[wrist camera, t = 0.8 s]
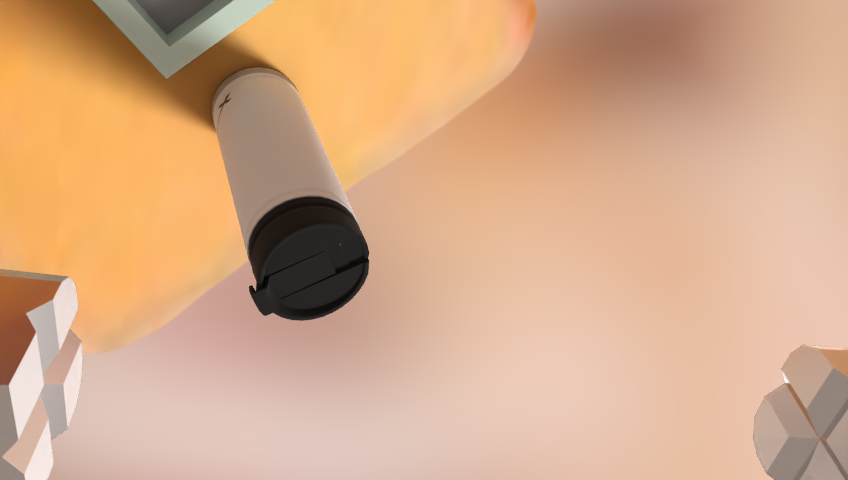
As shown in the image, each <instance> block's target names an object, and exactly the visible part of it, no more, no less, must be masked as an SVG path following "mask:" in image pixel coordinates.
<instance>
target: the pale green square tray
mask: <svg viewBox="0 0 848 480" xmlns="http://www.w3.org/2000/svg"><path fill="white" fill-rule="evenodd" d="M93 1H94V2H95V3H96V5H97V6H98V7H99V8H100V9H101V10H102V11H103V12H104V13H105V14H106V15H107V16H108V17H109V18H110V20H111V21H112V22H113V23H114V24H115V25H116V26H117V27H118V28H119V29H120V30H121V31H122V32H123V33H124V34H125V36H126V37H127V38H128V39H129V40H130V41H131V42H132V43H133V44H134V45H135V46H136V47H137V48H138V49H139V50H140V52H141V53H142V54H143V55H144V56H145V57H146V58H147V59H148V60H149V61H150V62H151V63H152V64H153V65H154V67H155V68H156V69H157V70H158V71H159V72H160V73H161V74H162V75H163V76H164V77H165V78H166V79H167V78H169V77H170V76H172V75H173V74H174V73H176V72H177V71H179V70H180V69H181V68H183V67H184V66H185V65H187V64H188V63H190V62H191V61H192V60H194V59H195V58H197V57H198V56H199V55H201V54H202V53H203V52H205V51H206V50H208V49H209V48H210V47H212V46H213V45H215V44H216V43H217V42H219V41H220V40H221V39H223V38H224V37H226V36H227V35H228V34H230V33H231V32H232V31H234V30H235V29H237V28H238V27H239V26H241V25H242V24H244V23H245V22H246V21H248V20H249V19H250V18H252V17H253V16H255V15H256V14H257V13H259V12H260V11H262V10H263V9H264V8H266V7H267V6H268V5H270V4H271V3H273V2H274V1H275V0H93Z"/></svg>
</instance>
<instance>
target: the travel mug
mask: <svg viewBox="0 0 848 480" xmlns="http://www.w3.org/2000/svg"><path fill="white" fill-rule="evenodd" d="M211 110H212V118H213V121H214V125H215V129H216V133H217V137H218V141H219V145H220V149H221V153H222V157H223V161H224V165H225V169H226V172H227V176H228V180H229V184H230V188H231V192H232V196H233V200H234V204H235V208H236V212H237V216H238V220H239V223H240V227H241V231H242V235H243V239H244V243H245V247H246V250H247V255H248V258H249V261H250V263H251V266H252V270H253V274H254V276H255V279H256V281H257V286H256V291H255V290H254V288H253V286H252V285H251V286H249V291H250V294H251V296H252V298H253V300H254V302H255V304H256V306H257V308H258V309H259V311H260V312H261V313H262V314H263V315H265V316H266V315H268V314H271V313H275V314H276V315H278V316H280V317H283V318H286V319H291V320H311V319H316V318H320V317H323V316H326V315H328V314H330V313H333V312H334V311H336V310H338V309H339V308H341V307H342V306H344V305H345V304H346V303H347V302H349V301H350V300H351V299H352V298H353V297H354V296H355V295H356V294H357V292H358V291H359V290H360V288H361V287H362V285H363V284H364V282H365V280H366V277H367V275H368V269H369V260H368V256H369V251H368V246H367V243H366V241H365V239H364V236H363V234H362V232H361V230H360V228H359V224H358V221H357V219H356V217H355V215H354V212H353V210H352V208H351V206H350V203H349V201H348V199H347V197H346V195H345V193H344V190H343V188H342V186H341V184H340V182H339V179H338V177H337V175H336V173H335V171H334V169H333V166H332V164H331V162H330V160H329V158H328V156H327V153H326V151H325V149H324V147H323V145H322V143H321V140H320V138H319V136H318V134H317V132H316V129H315V127H314V125H313V123H312V121H311V119H310V116H309V114H308V112H307V110H306V108H305V106H304V103H303V101H302V99H301V97H300V95H299V93H298V91H297V89H296V87H295V85H294V84H293V83H292V82H291V80H290V79H289V78H287V77H286V76H285V75H284V74H282V73H280V72H278V71H276V70H273V69H269V68H263V67H253V68H247V69H243V70H240V71H238V72H236V73H234V74H232V75H230V76H229V77H228V78H226V79H225V80H224V81H223V82H222V83H221V85H220V86H219V87H218V89H217V91H216V92H215V94H214V98H213V101H212V109H211Z"/></svg>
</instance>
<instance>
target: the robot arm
mask: <svg viewBox="0 0 848 480" xmlns="http://www.w3.org/2000/svg"><path fill="white" fill-rule="evenodd" d="M77 311H78V300H77V293H76V285H75V282H74V281H73V280H72V279H71V278H70V277H66V276H58V275H49V274H40V273H31V272H22V271H13V270H4V269H0V480H47V479H48V477H49V475H50V472H51V470H52V467H53V465H54V462H53V453H52V444H51V440H53V439H54V438H56V437H57V436H58V435H60V434H61V433H63V432H64V431H66V430H67V429H68V427H69V424H70V421H71V419H72V416H73V413H74V410H75V408H76V404H77V400H78V395H79V390H80V385H81V380H82V364H83V354H82V341H81V340H80V339H79V338H78V337H77V336H76V335H75V334H74V333H73V332H72V331H71V330H70V327H71V324H72V322H73V320H74V317H75V315H76V313H77ZM781 370H782V374H783V378H784V382H785V383H784V384H783V385H781V386H780V387H778V388H777V389H775V390H773V391H772V392H770V393H769V394H767V395H766V396H765V397H764V399H763V401H762V403H761V405H760V407H759V409H758V411H757V413H756V415H755V420H754V433H753V439H754V444H755V448H756V453H757V456H758V458H759V460H760V462H761V464H762V466H763V468H764V470H765V472H766V473H767V474H768V475H769V476H770V477H772V478H773V479H774V480H848V349H847V348H834V347H823V346H812V345H802V346H800V347H799V348H798V349H796V350H795V351H793V352H792V353H791V354H790V355H789V357H788V359H787V360H786V362H785V363H784V365H783V367H782V369H781Z"/></svg>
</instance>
